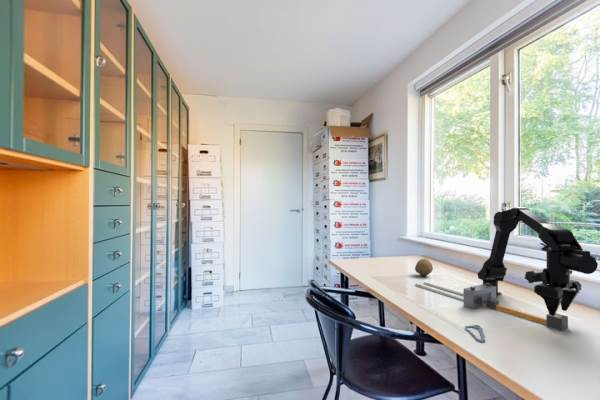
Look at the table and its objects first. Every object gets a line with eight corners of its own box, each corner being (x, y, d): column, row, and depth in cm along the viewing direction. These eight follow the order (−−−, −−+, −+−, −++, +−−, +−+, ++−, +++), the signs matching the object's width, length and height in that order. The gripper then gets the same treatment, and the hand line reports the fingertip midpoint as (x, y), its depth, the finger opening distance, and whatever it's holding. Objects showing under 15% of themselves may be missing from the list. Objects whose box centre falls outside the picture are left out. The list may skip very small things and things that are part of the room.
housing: (429, 282, 144) (429, 268, 144) (496, 302, 116) (496, 284, 116) (407, 287, 137) (407, 271, 137) (473, 309, 108) (473, 289, 108)
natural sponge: (436, 278, 153) (436, 260, 153) (419, 278, 153) (419, 260, 153) (428, 274, 162) (428, 257, 162) (413, 274, 162) (413, 257, 162)
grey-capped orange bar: (485, 307, 111) (485, 297, 111) (491, 305, 113) (491, 295, 113) (561, 331, 90) (561, 319, 90) (567, 328, 92) (567, 316, 92)
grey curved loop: (467, 342, 84) (487, 344, 82) (467, 339, 84) (487, 341, 82) (464, 326, 95) (481, 328, 92) (464, 323, 95) (481, 325, 92)
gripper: (541, 259, 104) (541, 300, 104) (515, 264, 95) (515, 309, 95) (581, 265, 94) (582, 311, 94) (557, 271, 86) (557, 321, 85)
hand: (558, 312), depth 92 cm, fingers open, 9 cm apart
